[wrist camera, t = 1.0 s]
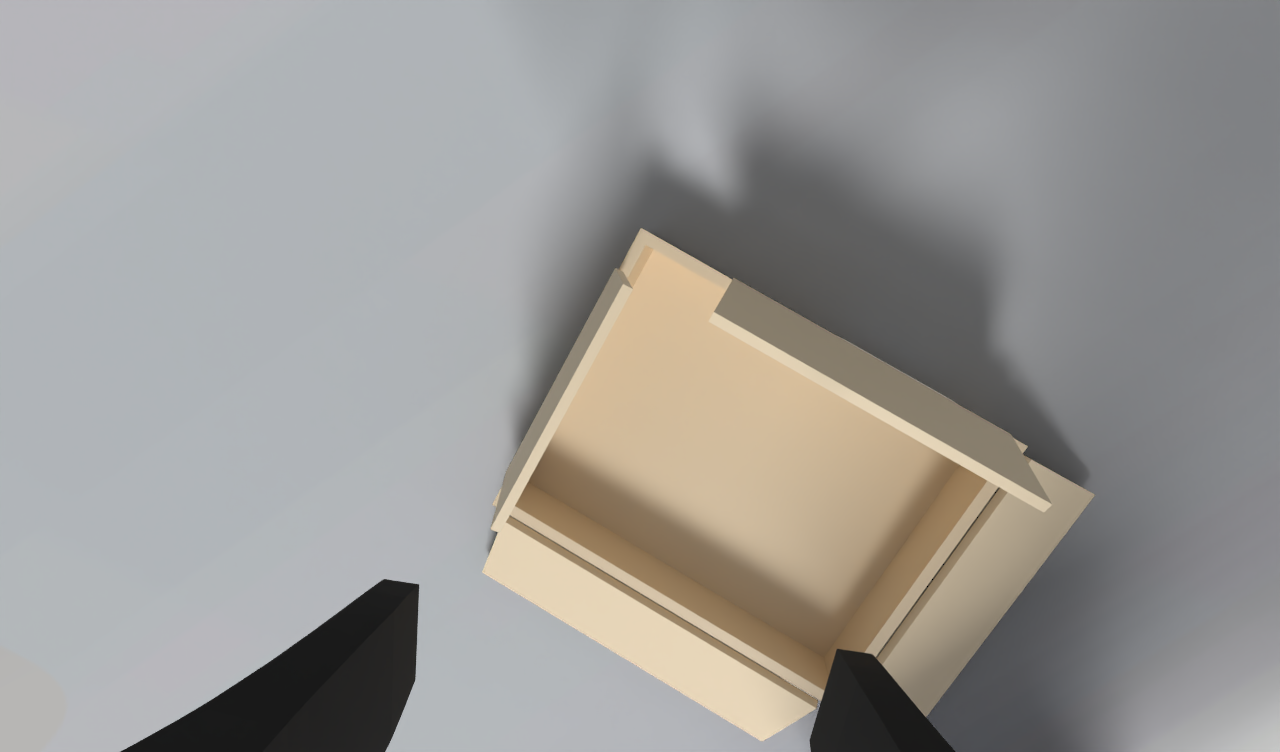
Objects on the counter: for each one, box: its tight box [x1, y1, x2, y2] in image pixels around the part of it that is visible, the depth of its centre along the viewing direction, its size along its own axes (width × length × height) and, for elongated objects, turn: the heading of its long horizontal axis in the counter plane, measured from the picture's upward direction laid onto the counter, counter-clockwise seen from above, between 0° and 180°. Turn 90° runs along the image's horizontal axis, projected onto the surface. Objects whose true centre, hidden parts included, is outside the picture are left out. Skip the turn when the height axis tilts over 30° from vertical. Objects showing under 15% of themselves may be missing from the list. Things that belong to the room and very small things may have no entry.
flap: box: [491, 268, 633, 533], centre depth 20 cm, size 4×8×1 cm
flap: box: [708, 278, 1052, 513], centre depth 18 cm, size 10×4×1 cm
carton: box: [482, 228, 1095, 742], centre depth 23 cm, size 18×15×3 cm
